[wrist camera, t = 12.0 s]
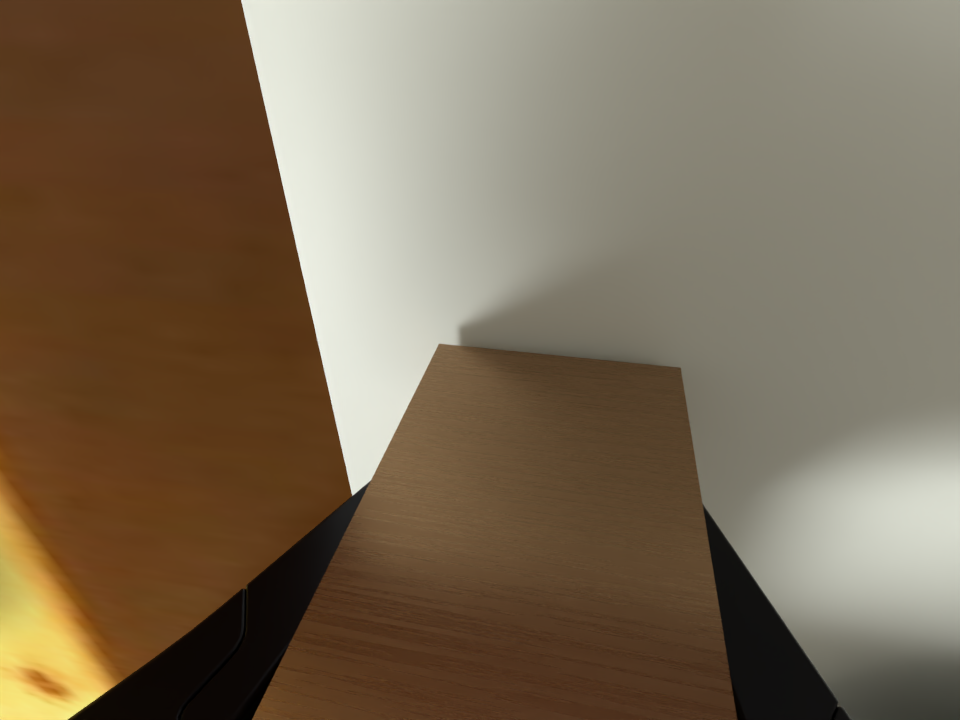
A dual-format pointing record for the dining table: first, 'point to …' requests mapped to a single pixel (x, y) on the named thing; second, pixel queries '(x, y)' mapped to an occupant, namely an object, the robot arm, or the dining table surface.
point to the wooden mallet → (520, 557)
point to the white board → (668, 261)
